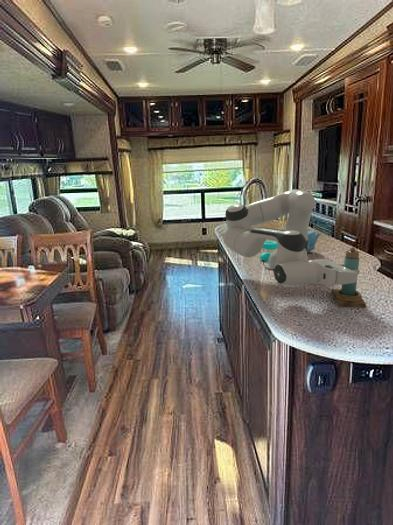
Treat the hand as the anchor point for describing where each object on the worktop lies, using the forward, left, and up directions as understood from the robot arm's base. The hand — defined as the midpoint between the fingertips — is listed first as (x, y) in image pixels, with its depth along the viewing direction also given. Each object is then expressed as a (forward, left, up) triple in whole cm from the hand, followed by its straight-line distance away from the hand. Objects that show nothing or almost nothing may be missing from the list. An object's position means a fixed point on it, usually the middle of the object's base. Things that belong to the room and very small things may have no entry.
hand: (353, 269), depth 132 cm
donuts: (-31, +59, -13) cm, 67 cm away
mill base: (-1, +1, -12) cm, 12 cm away
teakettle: (-12, +80, -13) cm, 82 cm away
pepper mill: (-1, 0, -10) cm, 10 cm away
